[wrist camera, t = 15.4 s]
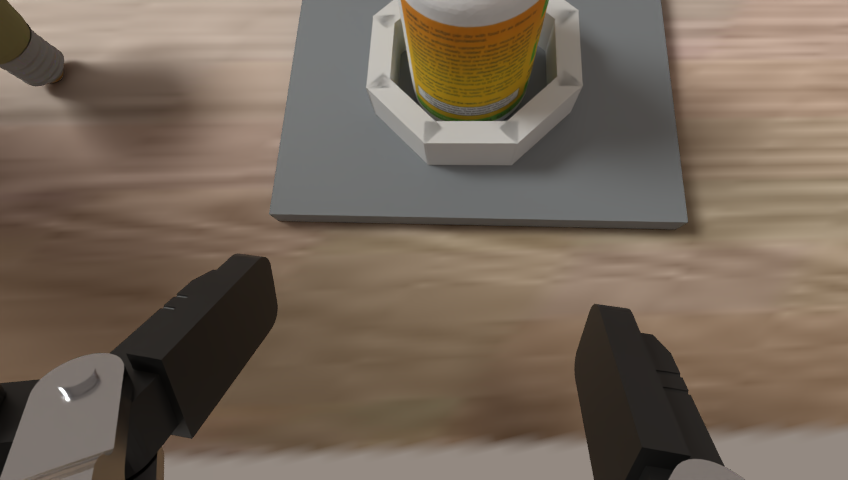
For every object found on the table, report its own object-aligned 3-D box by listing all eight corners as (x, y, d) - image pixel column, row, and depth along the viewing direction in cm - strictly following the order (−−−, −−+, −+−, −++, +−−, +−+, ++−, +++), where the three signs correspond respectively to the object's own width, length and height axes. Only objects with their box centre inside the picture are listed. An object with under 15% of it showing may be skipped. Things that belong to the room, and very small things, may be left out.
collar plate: (278, 220, 20) (247, 198, 17) (313, -15, 23) (292, -67, 20) (675, 229, 18) (717, 205, 15) (646, -28, 21) (675, -86, 19)
